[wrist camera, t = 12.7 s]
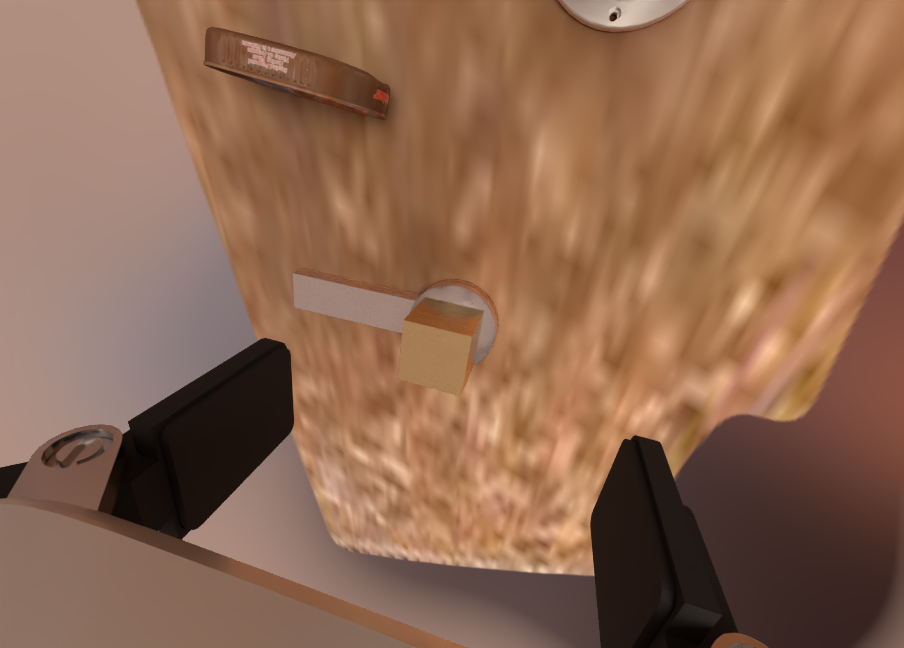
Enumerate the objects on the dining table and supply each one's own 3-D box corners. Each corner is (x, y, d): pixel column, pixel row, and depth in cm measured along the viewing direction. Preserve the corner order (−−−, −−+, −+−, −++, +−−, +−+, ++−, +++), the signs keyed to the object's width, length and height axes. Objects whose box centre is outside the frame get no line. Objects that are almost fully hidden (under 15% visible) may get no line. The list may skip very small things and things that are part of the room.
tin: (254, 83, 36) (175, 64, 29) (254, 43, 35) (172, 13, 27) (401, 125, 35) (357, 117, 27) (407, 86, 33) (364, 65, 26)
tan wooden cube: (425, 296, 38) (403, 319, 33) (484, 310, 37) (471, 336, 32) (418, 349, 40) (397, 378, 35) (474, 363, 40) (461, 396, 34)
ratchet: (302, 246, 42) (265, 259, 37) (506, 289, 38) (498, 311, 33) (305, 320, 46) (272, 342, 40) (490, 366, 42) (480, 396, 37)
